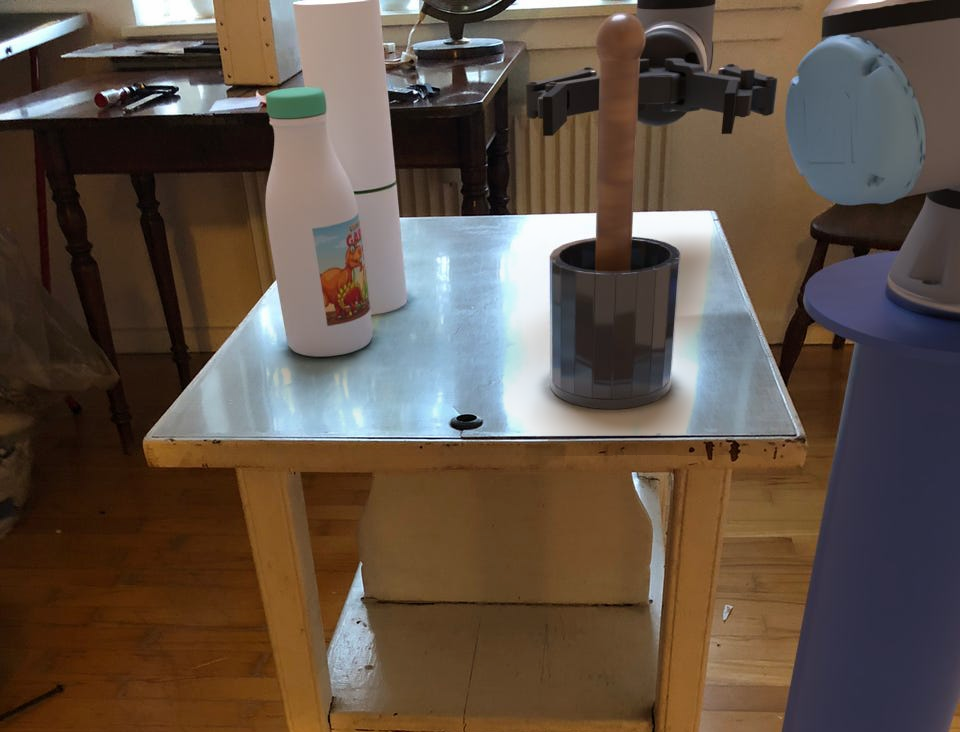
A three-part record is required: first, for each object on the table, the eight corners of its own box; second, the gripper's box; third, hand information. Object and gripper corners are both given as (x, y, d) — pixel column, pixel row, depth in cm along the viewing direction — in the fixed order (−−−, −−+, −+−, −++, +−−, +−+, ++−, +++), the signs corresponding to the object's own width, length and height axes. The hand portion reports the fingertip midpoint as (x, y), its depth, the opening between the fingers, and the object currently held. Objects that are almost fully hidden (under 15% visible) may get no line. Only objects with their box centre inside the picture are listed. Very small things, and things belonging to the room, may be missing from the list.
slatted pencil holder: (675, 364, 80) (685, 237, 74) (664, 412, 73) (673, 275, 66) (562, 359, 82) (562, 235, 76) (540, 405, 75) (538, 272, 69)
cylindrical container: (381, 286, 100) (350, -5, 85) (421, 302, 95) (395, -3, 80) (321, 302, 97) (277, 3, 81) (359, 320, 92) (320, 5, 77)
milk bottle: (299, 365, 84) (255, 102, 71) (279, 337, 89) (235, 89, 77) (384, 349, 86) (356, 91, 74) (360, 322, 91) (329, 79, 79)
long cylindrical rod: (646, 363, 78) (666, 7, 64) (638, 389, 74) (658, 15, 60) (582, 360, 79) (587, 9, 65) (570, 385, 75) (574, 18, 61)
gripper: (797, 117, 89) (800, 168, 73) (531, 121, 95) (479, 169, 79) (810, 21, 85) (816, 52, 69) (529, 31, 90) (473, 62, 74)
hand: (636, 115), depth 74 cm, fingers open, 13 cm apart
